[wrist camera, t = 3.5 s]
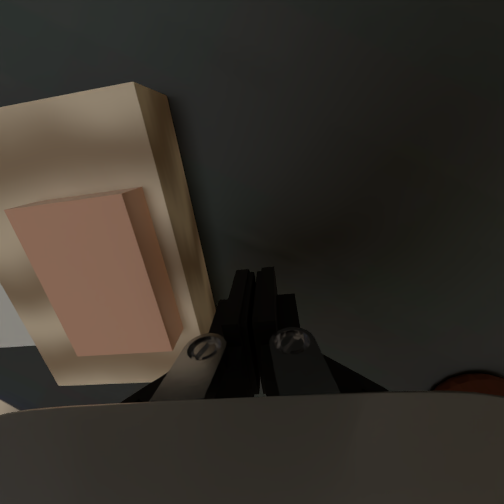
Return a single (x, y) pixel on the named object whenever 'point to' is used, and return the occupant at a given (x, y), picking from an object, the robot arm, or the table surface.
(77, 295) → the tile
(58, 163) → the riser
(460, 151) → the table surface
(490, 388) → the bottle
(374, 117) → the table surface
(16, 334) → the mat
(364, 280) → the table surface
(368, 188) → the table surface
